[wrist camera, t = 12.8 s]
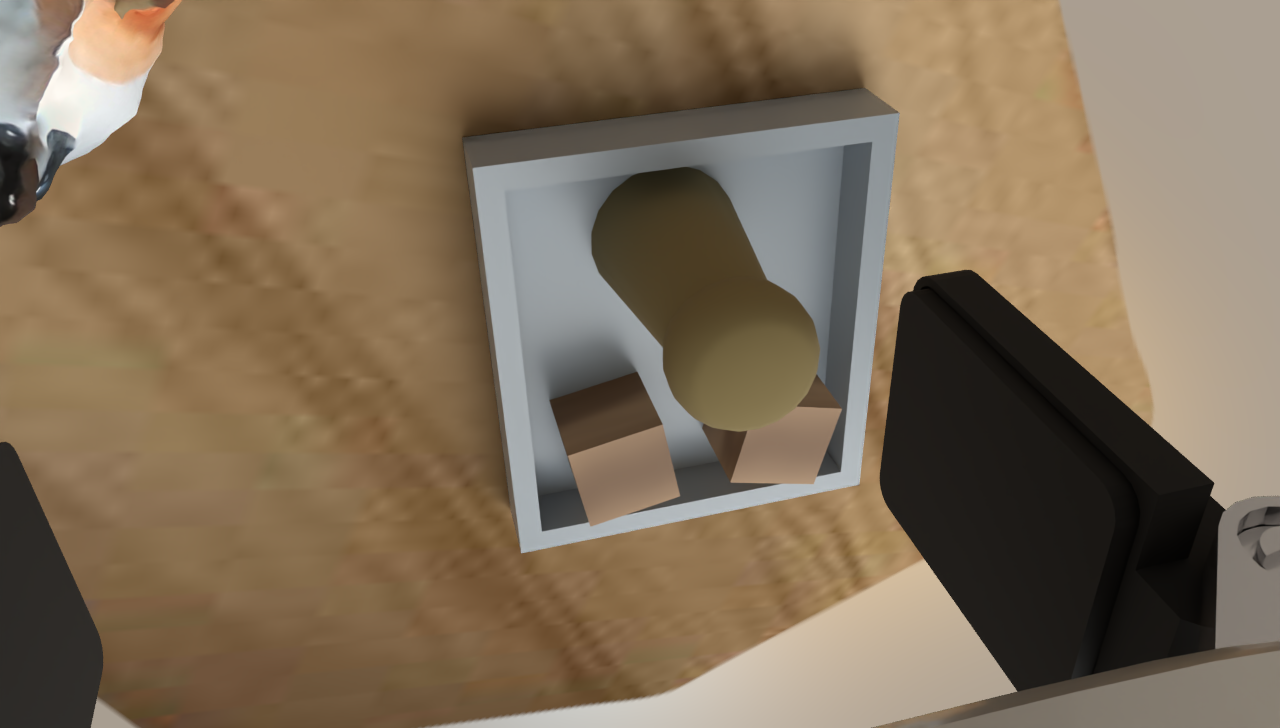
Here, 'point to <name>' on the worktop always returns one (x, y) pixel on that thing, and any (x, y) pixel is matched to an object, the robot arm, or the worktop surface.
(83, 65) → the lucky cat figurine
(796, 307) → the cork
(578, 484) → the walnut block
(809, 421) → the walnut block
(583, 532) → the tray
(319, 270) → the worktop surface
